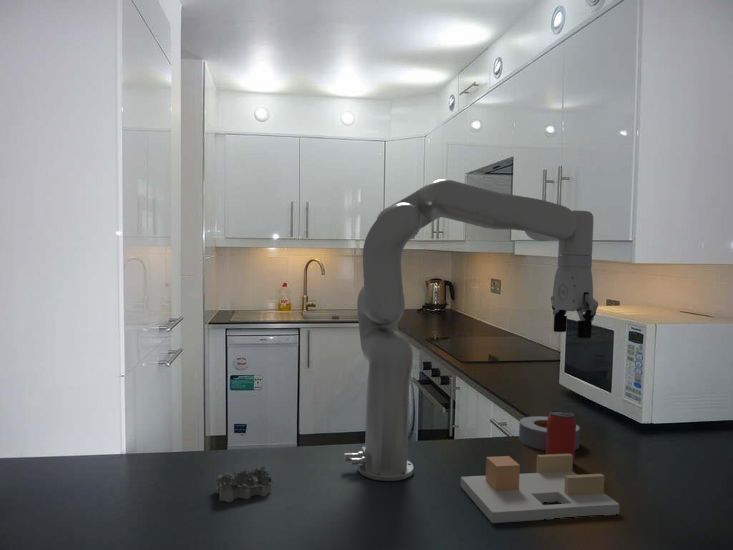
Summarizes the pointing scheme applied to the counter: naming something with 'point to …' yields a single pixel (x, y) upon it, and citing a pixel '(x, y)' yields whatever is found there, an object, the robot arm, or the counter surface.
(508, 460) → the block
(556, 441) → the beer can
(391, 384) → the robot arm
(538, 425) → the tape roll
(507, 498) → the white flat board
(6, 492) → the counter surface
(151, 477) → the counter surface
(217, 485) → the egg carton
